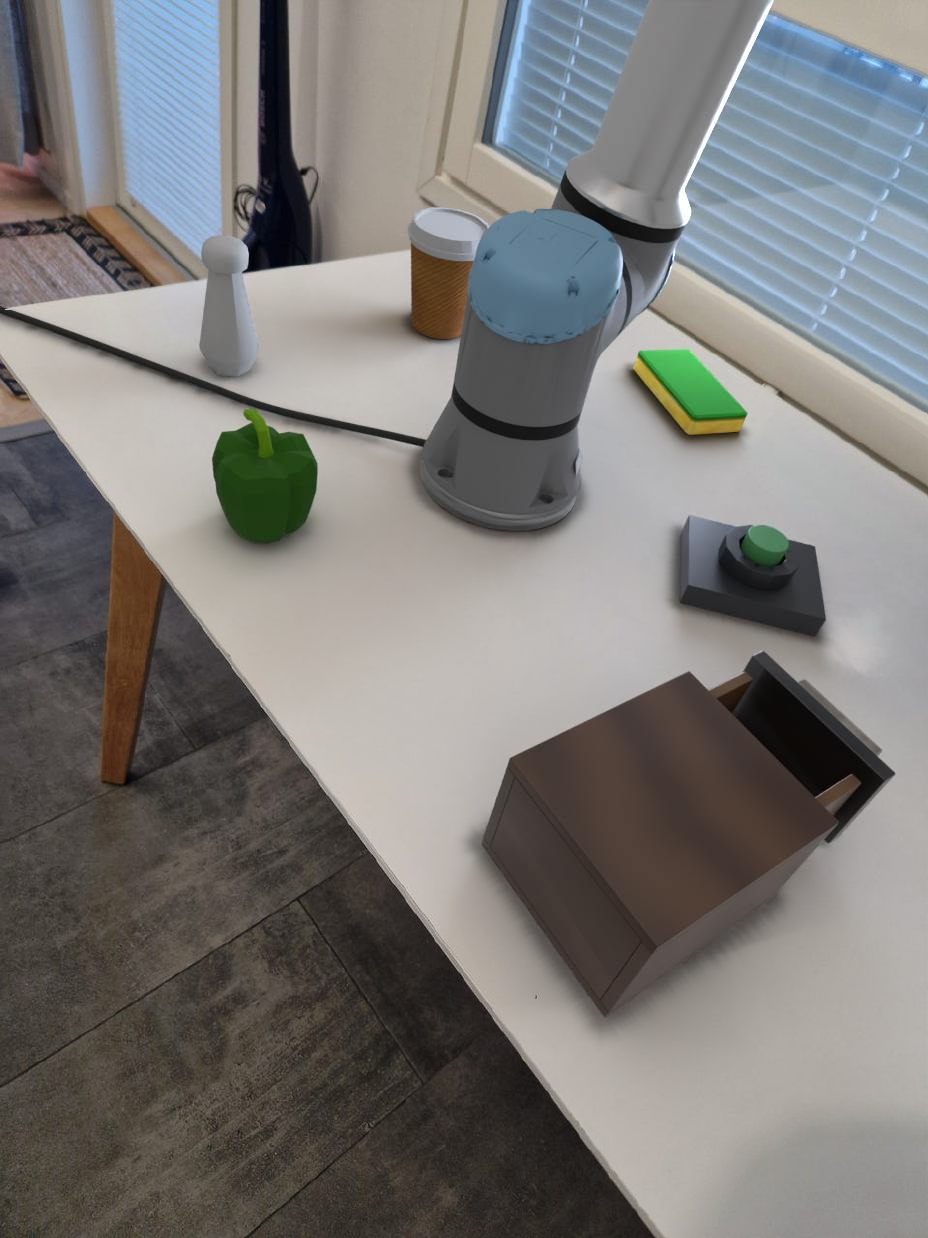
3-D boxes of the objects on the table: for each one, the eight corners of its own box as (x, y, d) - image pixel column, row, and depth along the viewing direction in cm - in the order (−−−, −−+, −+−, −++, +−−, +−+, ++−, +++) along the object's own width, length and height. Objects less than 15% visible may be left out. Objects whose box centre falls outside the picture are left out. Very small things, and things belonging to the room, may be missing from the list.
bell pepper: (323, 552, 72) (329, 454, 65) (221, 560, 70) (216, 458, 63) (306, 489, 78) (310, 392, 71) (211, 494, 75) (205, 394, 68)
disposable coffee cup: (477, 352, 100) (496, 248, 91) (394, 339, 99) (406, 234, 90) (477, 313, 106) (495, 213, 98) (400, 301, 105) (411, 199, 97)
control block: (679, 603, 75) (695, 569, 72) (681, 532, 82) (695, 499, 79) (815, 637, 75) (836, 604, 72) (805, 563, 82) (824, 531, 79)
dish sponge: (682, 366, 105) (689, 347, 103) (741, 432, 97) (749, 413, 95) (631, 368, 103) (637, 349, 101) (687, 436, 94) (694, 417, 92)
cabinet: (644, 756, 63) (689, 670, 56) (771, 899, 56) (839, 822, 49) (480, 843, 56) (509, 757, 49) (604, 1018, 49) (657, 947, 42)
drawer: (758, 698, 67) (801, 630, 62) (874, 812, 61) (934, 748, 56) (587, 790, 59) (619, 721, 53) (703, 932, 53) (753, 870, 47)
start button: (741, 561, 75) (749, 546, 73) (739, 535, 77) (747, 520, 76) (782, 571, 75) (790, 556, 73) (779, 545, 77) (787, 530, 76)
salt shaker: (270, 367, 91) (270, 244, 81) (232, 388, 87) (227, 261, 78) (228, 345, 92) (223, 222, 83) (188, 365, 89) (178, 238, 79)
